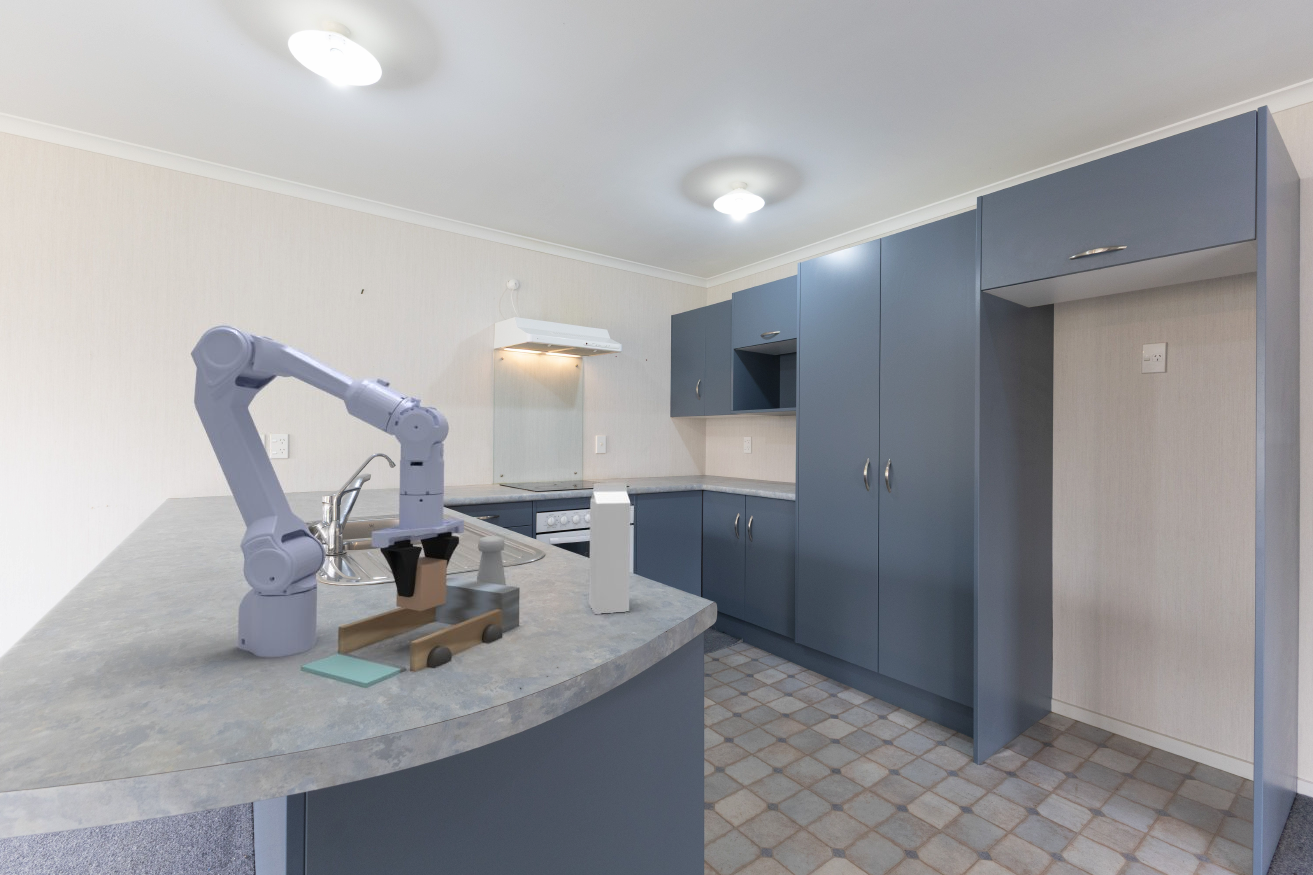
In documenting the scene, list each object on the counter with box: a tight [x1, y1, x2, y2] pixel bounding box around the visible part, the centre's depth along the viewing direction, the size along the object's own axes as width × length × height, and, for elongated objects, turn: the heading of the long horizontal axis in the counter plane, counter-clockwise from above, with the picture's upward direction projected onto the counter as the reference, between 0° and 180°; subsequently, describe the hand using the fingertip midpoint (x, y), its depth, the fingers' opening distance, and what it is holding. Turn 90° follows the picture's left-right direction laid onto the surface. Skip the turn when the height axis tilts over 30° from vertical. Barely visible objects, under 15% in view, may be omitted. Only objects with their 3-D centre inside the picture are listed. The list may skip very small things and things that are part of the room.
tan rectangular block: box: [395, 556, 448, 611], centre depth 82 cm, size 4×4×6 cm
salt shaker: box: [476, 535, 507, 586], centre depth 100 cm, size 6×6×13 cm
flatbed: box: [337, 577, 521, 672], centre depth 85 cm, size 16×20×7 cm
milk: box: [588, 482, 631, 615], centre depth 104 cm, size 6×6×22 cm
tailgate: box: [300, 652, 407, 689], centre depth 73 cm, size 11×1×6 cm
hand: (420, 591), depth 82 cm, fingers closed on tan rectangular block, 4 cm apart
